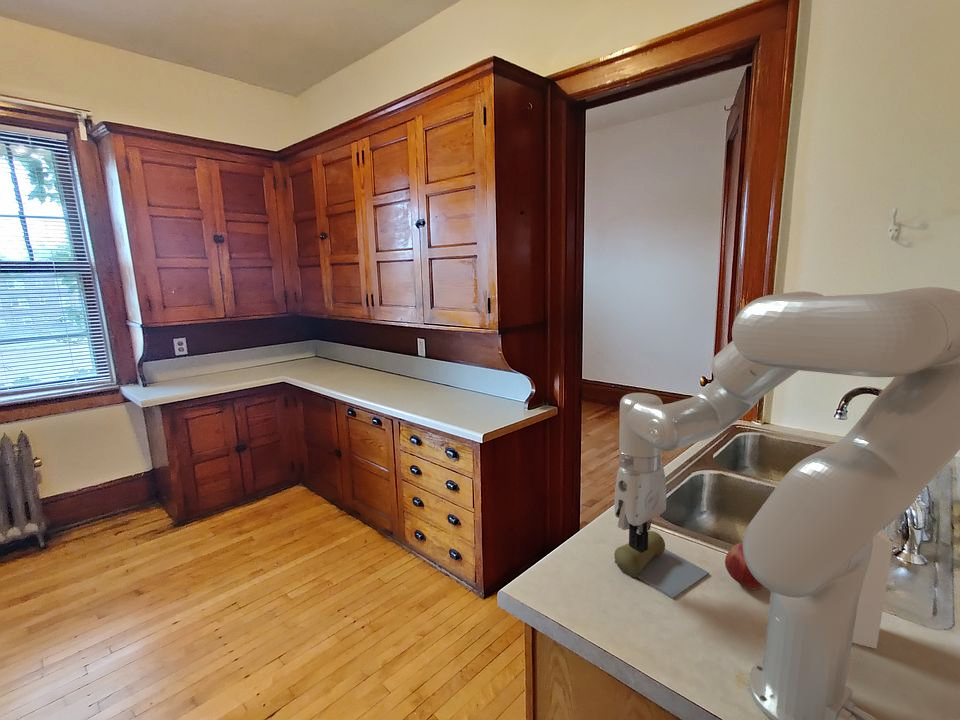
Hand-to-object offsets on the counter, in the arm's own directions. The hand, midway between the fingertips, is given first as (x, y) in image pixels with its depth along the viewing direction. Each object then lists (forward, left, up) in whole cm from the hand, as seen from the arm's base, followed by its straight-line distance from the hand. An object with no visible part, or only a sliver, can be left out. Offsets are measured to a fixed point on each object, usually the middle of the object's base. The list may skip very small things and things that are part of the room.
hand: (638, 548), depth 91 cm
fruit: (-13, -17, -9) cm, 23 cm away
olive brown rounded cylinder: (+3, -1, -5) cm, 6 cm away
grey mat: (0, -8, -8) cm, 12 cm away
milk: (-29, -19, -9) cm, 35 cm away
